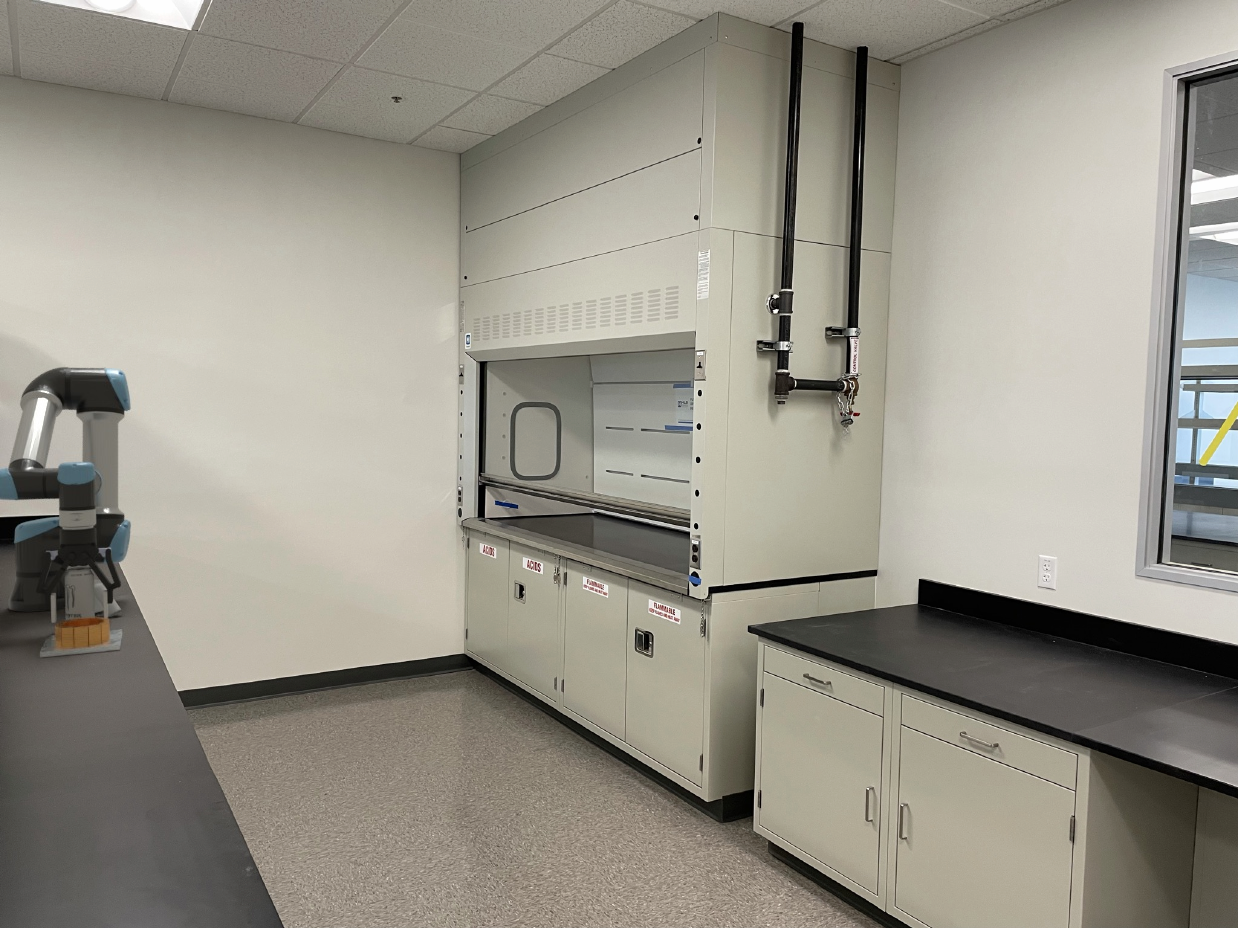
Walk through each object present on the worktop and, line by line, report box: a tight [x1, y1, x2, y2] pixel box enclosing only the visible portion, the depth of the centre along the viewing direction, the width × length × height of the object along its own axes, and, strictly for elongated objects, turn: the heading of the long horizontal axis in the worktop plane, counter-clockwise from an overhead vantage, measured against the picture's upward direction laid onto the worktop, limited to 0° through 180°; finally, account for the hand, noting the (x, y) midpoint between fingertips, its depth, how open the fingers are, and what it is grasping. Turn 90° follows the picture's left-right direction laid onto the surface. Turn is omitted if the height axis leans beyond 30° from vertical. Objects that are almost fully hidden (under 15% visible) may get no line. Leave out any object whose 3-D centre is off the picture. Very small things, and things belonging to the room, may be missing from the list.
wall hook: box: [94, 579, 122, 618], centre depth 233 cm, size 8×10×10 cm
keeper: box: [39, 616, 123, 658], centre depth 204 cm, size 15×15×5 cm
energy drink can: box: [64, 566, 96, 620], centre depth 217 cm, size 6×6×15 cm
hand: (80, 619), depth 217 cm, fingers open, 10 cm apart
